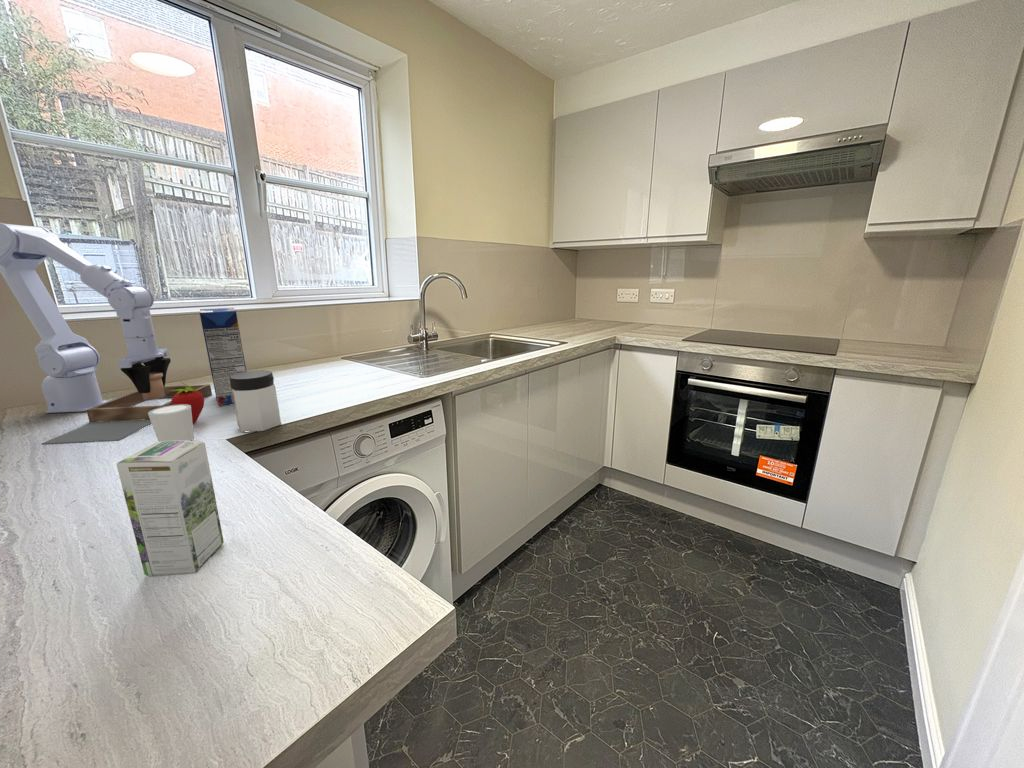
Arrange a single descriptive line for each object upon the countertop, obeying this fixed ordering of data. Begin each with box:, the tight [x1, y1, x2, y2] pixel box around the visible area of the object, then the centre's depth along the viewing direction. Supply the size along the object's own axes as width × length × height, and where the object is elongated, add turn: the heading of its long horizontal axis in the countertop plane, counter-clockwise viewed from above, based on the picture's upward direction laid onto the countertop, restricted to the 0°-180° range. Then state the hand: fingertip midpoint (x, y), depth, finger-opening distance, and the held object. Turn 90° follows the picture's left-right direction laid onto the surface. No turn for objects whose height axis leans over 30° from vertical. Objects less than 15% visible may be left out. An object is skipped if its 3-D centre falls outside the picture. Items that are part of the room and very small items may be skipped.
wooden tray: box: [85, 383, 213, 423], centre depth 106 cm, size 16×20×3 cm
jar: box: [229, 369, 282, 433], centre depth 92 cm, size 9×8×12 cm
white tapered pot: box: [148, 404, 195, 442], centre depth 84 cm, size 7×7×7 cm
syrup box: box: [116, 440, 225, 577], centre depth 49 cm, size 6×6×14 cm
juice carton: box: [199, 307, 247, 407], centre depth 110 cm, size 12×8×24 cm, turn 35°
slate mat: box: [41, 419, 152, 445], centre depth 90 cm, size 14×12×1 cm
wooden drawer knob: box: [142, 372, 166, 401], centre depth 105 cm, size 5×5×6 cm
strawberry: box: [170, 381, 205, 424], centre depth 94 cm, size 6×8×10 cm
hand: (152, 389), depth 105 cm, fingers closed on wooden drawer knob, 5 cm apart
